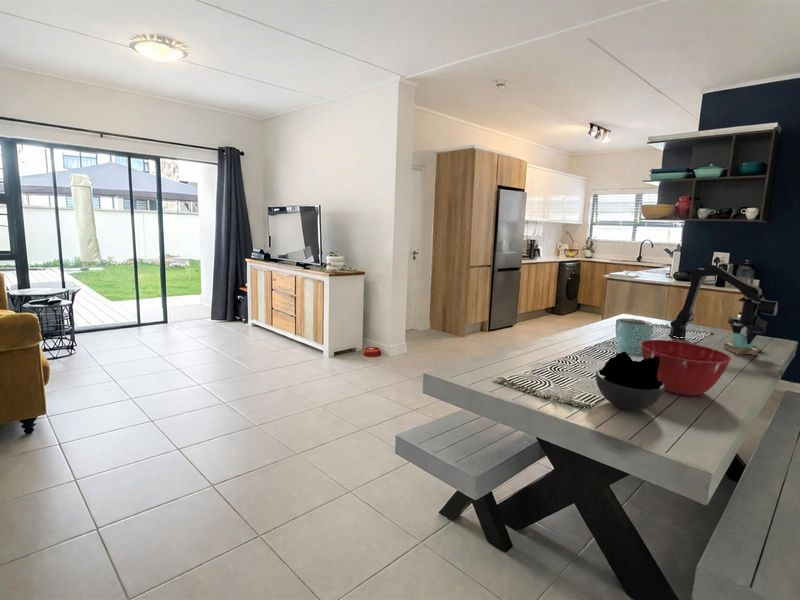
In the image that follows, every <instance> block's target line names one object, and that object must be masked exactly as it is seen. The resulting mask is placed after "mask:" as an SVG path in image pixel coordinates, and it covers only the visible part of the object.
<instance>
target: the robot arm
mask: <svg viewBox="0 0 800 600" xmlns="http://www.w3.org/2000/svg"><path fill="white" fill-rule="evenodd" d="M709 276H711V277H712V276H717V277H718V278H721V279H722V280H723V281H725V282H727V283H728V284H730V285H732V286H733V287H735V288H737V289H738V290H739V292H740V293H741V294H742V295H743V297H741V298H740V299H738V301H739V302H742V303H743V304H742V307H741V308H742V309H741V311H739V313H738V315H741V317H740V319H738V318H737V317H735V318H734V317H731V318H728V321H727V324H729V326H730V328H731V330H732V333H733V334H734V333H740V332H741V329H742V328H744V327H747V330H746V337H747V344H751V342H752V341H753V339H754V340H755V338H756V337H757V336H758V335H761V334H764V333H765V332H766V326H767V324H768V323H769V322H768V321H766V320H765V319H761V317H760V316H759V314H757V311H758V312H759V313H760V314H762V315H768V316H776V315H777V313H778V309H779V308H778V301H773V300H767V299H765V297H764V295H763V293H762V292H763V291H762V288H761V287H759V286H756V285H755V284H752V283H749V282H746V281H743V280H742V279H740V278H738V276H735V275H733V274H732V273H731V272H729V271H727V270H725V269H724V268H723V267H721V266H716V267H715V266H714V267H711V268H703V267H701V268H700V267H699V268H693V270H691V271H690V278H689V280H690V286H689V289H688V292H687V294H686V298H685V301H684V304H683V307H682V309H681V310H680V311H679V313H678V314H677V316H676V317H675V319H674V320H672V321H671V322H670V332H669V334H670V335H671V336H676V337H685V338H686V334H687V326H688V325H689V324H691V323H692V322H694V318H695V316H696V314H695V313H693V308H694V307H695V306H694V305H695V303H696V299H697V297H698V294H699V290H700V288H701V286H702V284H703V283H704V282H705V281H706V278H707V277H709ZM671 336H670V337H671ZM753 342H754V341H753Z"/></svg>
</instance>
